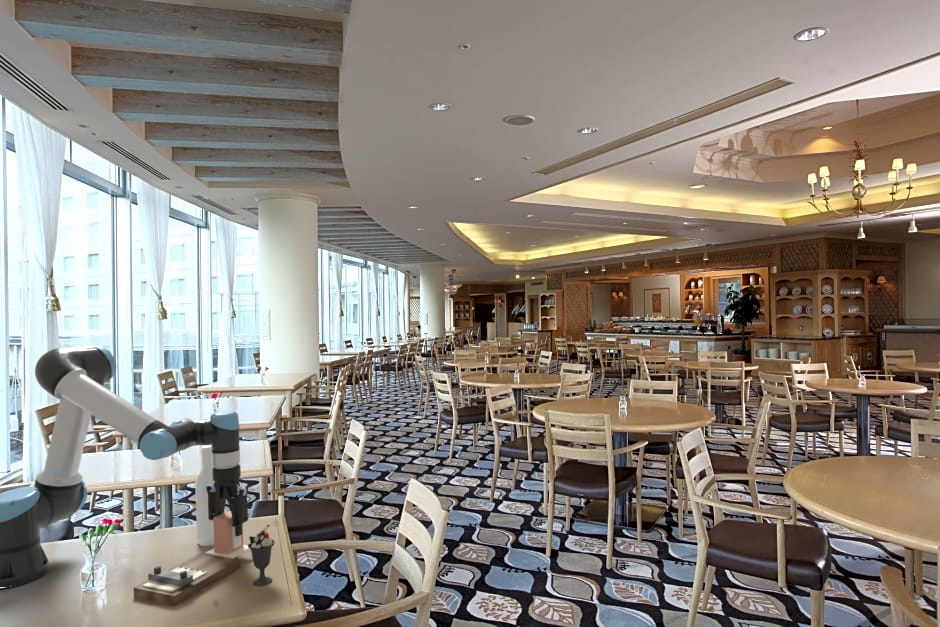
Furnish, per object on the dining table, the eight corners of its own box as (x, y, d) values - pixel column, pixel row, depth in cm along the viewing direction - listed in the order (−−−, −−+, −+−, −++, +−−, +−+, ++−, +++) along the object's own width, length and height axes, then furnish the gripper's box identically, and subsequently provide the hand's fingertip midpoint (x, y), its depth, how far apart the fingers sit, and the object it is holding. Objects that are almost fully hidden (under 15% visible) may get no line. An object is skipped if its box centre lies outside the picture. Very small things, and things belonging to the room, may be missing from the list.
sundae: (280, 581, 153) (278, 525, 153) (255, 590, 148) (253, 532, 148) (269, 573, 158) (267, 518, 157) (245, 582, 153) (243, 525, 153)
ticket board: (133, 597, 146) (133, 574, 146) (202, 561, 167) (201, 541, 167) (175, 606, 141) (174, 582, 141) (240, 567, 162) (240, 547, 162)
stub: (205, 554, 165) (204, 517, 165) (225, 543, 173) (224, 508, 172) (232, 558, 162) (231, 521, 162) (252, 547, 169) (251, 512, 169)
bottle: (200, 549, 176) (197, 450, 176) (194, 541, 182) (190, 446, 182) (228, 541, 181) (224, 446, 181) (220, 534, 187) (217, 442, 187)
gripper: (260, 464, 167) (263, 544, 167) (212, 460, 174) (214, 537, 174) (241, 471, 160) (244, 554, 160) (192, 466, 167) (194, 546, 167)
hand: (228, 545), depth 167 cm, fingers closed on stub, 5 cm apart
